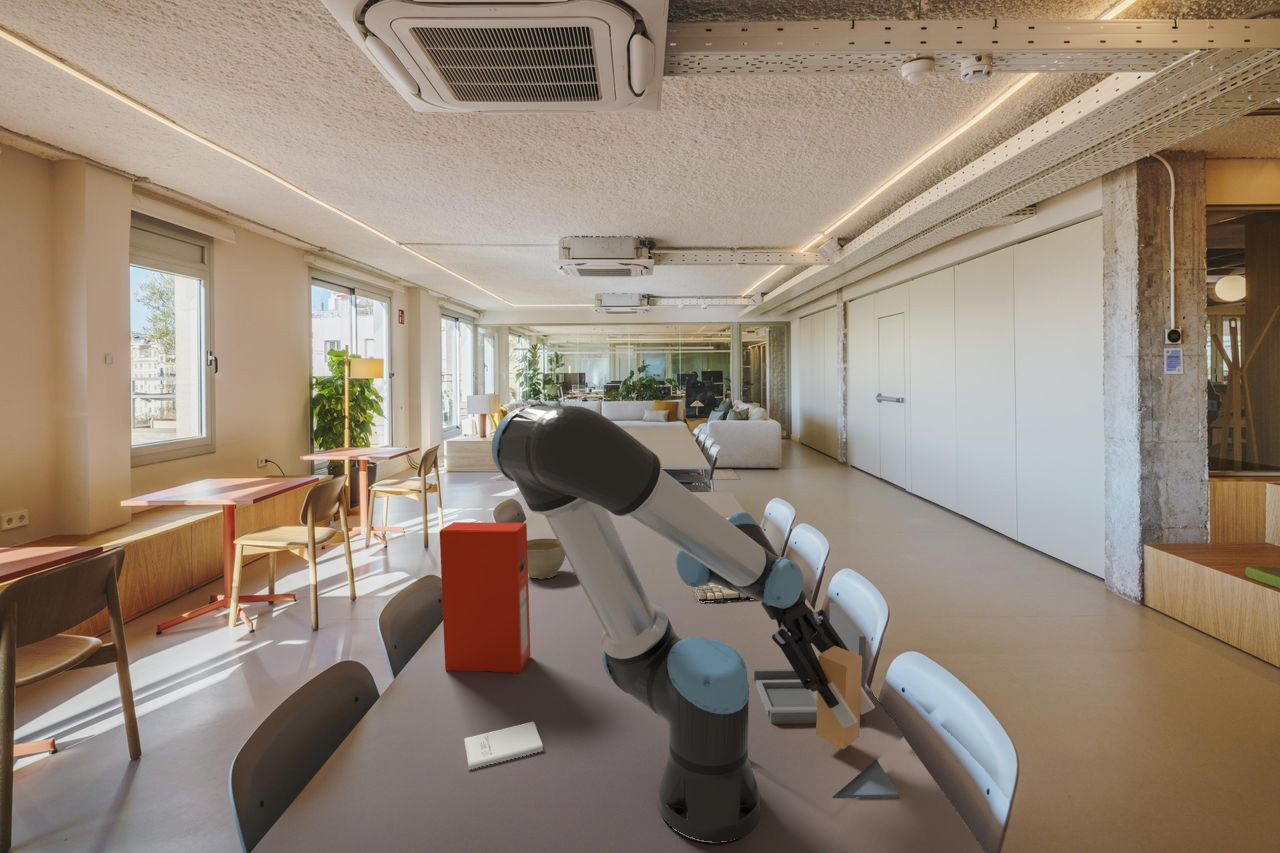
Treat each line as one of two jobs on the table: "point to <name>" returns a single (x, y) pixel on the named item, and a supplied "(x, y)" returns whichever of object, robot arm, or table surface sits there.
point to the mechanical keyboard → (718, 594)
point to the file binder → (485, 596)
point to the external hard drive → (502, 745)
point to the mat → (869, 784)
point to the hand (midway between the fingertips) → (859, 717)
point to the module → (847, 680)
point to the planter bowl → (544, 557)
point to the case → (787, 691)
